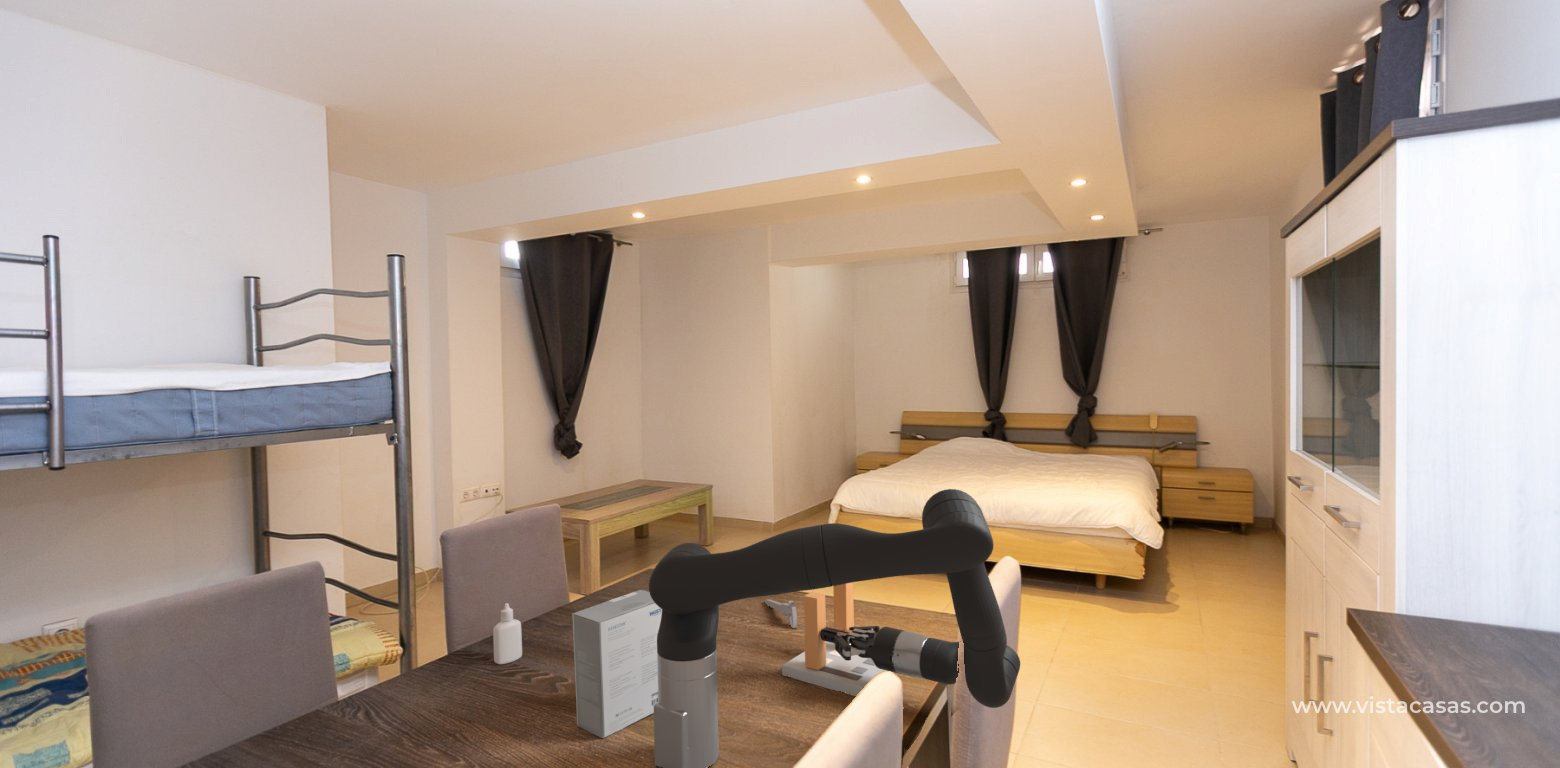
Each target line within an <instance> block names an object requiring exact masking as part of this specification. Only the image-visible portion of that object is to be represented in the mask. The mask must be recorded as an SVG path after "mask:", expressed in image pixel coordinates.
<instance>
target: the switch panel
mask: <svg viewBox="0 0 1560 768" xmlns="http://www.w3.org/2000/svg"><path fill="white" fill-rule="evenodd" d="M781 670H782V676H785V677H787V676H788V678H790V677H791V679H795V680H798V681H802V682H805V683H808V684H812V685H815V686H818V687H821V688H825V689H829V690H832V691H836V692H839V691H841V692H840V693H842V692H846V693H849V694H852V695H851V696H854V697H856V695H857V694H858V693H859V692H860V691H861V690H862V689H863V688H864V686H865V685H866V684H867V683H868V682H869V681H870V680H871V679H872V678H873V677H874V676H875V675H877V674H878V673H880V672H882V671H885V670H882V669H879V668H877V667H876V666H875V664H874V662H873V660H872V659H871V658H861V657H859V656H858V655H853V656H851V660H849V661H847V660H845V659H844V658H843V657H842V656H841V655H840V654H839V653H838V652H837V651H836V650H835V648H834V643H831V642H827V641H826V665H825V666H824V667H822V668H821V669H819V670H815V669H812V668H808V667H805V651H803V652H801V653H800V654H798V655H796V656H795V657H793V658H791V659H790V660H788V661H787V662H785V663H784V664H782V668H781ZM846 693H845V694H846ZM849 694H848V695H849Z"/></svg>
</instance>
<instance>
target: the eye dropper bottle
mask: <svg viewBox="0 0 1560 768" xmlns="http://www.w3.org/2000/svg"><path fill="white" fill-rule="evenodd" d="M492 631H493V661H494V663H495V664H497V665H505V664H509V663H512V662H514V661H517V660H518V659H520V658H522V656H523V640H522V639H523V638H522V622H521V621H520V620H518V619H515V618H514V609H513V608H511V607H510V604H509V602H506V603H504V606H503V609H501V610H500V621H499V622H498V623H497V624H496V625H494V627H493V630H492Z"/></svg>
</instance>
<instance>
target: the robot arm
mask: <svg viewBox="0 0 1560 768" xmlns="http://www.w3.org/2000/svg"><path fill="white" fill-rule="evenodd" d="M987 522H988V521H986V518H985V515H984V513H983V510H982V508H981V507H980V505H979V504H978V502H977V500H975V499H974V498H973V497H972V495H970V494H968V493H967V492H966V491H965V492H964V491H962V490H961V489H960V490H959V489H956V488H955V489H954V488H948V489H943V490H940V491H938V492H936V493H934V494H933V495H932V496H930V497H929V498H928V500H926V502H925V504H924V507H923V510H922V514H921V525H922V529H916V530H912V531H906V532H896V533H894V532H893V533H887V532H878V531H874V530H869V529H866V528H863V527H860V526H854V525H851V524H844V523H839V522H838V523H834V522H832V523H824V524H817V525H813V526H812V525H811V526H806V527H800V528H796V529H792V530H788V531H785V532H782V533H779V534H776V535H774V536H771V537H768V538H765V539H763V540H761V541H758V542H756V543H754V544H750V545H748V546H746V547H743V548H740V549H736V550H732V551H731V550H729V551H726V552H715V553H712V552H710V550H709V549H707V548H706V547H705V546H703V545H701V544H699V543H695V542H686V543H685V542H684V543H681V544H678V545H676V546H674V547H673V548H672V549H670V550H669V551H668V552H667V553H666V554H665V555H664V556H663V557H662V558H661V559H660V560H659V561H658V563H657V564H656V565H655V567H654V568H653V570H652V573H651V575H650V578H649V581H648V592H650V596H651V598H652V600H653V601H654V602H655V604H656V605H657V606H658V607H660V608H661V609H662V615H661V622H660V627H659V630H658V634H657V665H658V703H656V704H655V705H654V713H653V728H654V729H653V730H654V731H653V732H654V733H653V734H654V735H653V736H654V739H653V740H654V766H657V767H659V768H661V767H663V768H706V767H709V766H711V765H712V764H713V765H715V764H716V763H717V761H718V760H719V755H720V752H719V749H720V747H719V745H720V744H719V722H718V721H719V714H718V713H719V709H718V673H717V672H718V670H717V669H718V665H717V664H718V663H717V662H718V661H717V658H718V657H717V635H718V628H719V618H720V617H719V614H720V613H719V611H720V609H719V607H720V605H724V604H727V603H731V602H734V601H735V602H736V601H738V600H739V601H740V600H743V599H750V598H751V599H752V598H758V597H766V596H776V595H782V594H789V593H796V592H804V591H805V592H806V591H812V590H813V591H814V590H819V589H825V588H831V587H832V588H833V586H837V585H842V584H846V583H851V582H853V583H856V582H865V581H871V580H872V581H873V580H877V579H878V580H879V579H885V578H886V579H887V578H894V577H904V576H920V575H935V574H936V575H937V574H946V578H947V582H948V586H949V590H950V595H951V600H952V605H953V610H954V614H955V617H956V621H957V625H958V628H959V633H960V636H961V640H962V641H963V643H964V664H965V674H964V675H965V682H966V683H965V684H966V686H967V689H968V691H969V692H970V695H972V697H973V698H974V699H975V701H976V702H978V703H979V704H980V705H982V706H984V707H987V708H992V709H996V708H1000V707H1002V706H1005V705H1006V704H1007V703H1008V701H1009V700H1010V698H1011V696H1012V693H1013V689H1014V687H1015V683H1016V680H1017V678H1018V675H1019V672H1020V669H1021V659H1020V656H1019V655H1018V653H1017V651H1015V650H1014V648H1012V647H1010V646H1009V645H1008V638H1007V637H1008V636H1007V633H1006V629H1005V624H1004V621H1003V616H1002V613H1001V610H1000V606H999V603H998V600H997V597H996V594H995V591H994V589H993V586H992V583H991V580H990V578H989V574H988V572H987V568H986V565H985V562H986V561H987V560H989V558H990V557H991V555H992V553H993V551H994V546H995V545H994V538H993V536H992V532H991V530H990V527H989V525H988V523H987ZM821 639H822V640H823V641H827V642H831V643H835V650H836V651H837V652H838V653H839V654H840V655H841V656H842V657H843V658H844V659H845V660H847V661H849V660H851V656H853V655H858V656H859V657H861V658H871V659H872V660H873V662H874V664H875V666H876V667H877V668H879V669H882V670H886V671H891V672H894V674H897V675H902V676H907V677H910V678H917V679H924V680H928V681H930V682H931V681H932V682H935V683H936V682H937V683H940V684H944V685H950V686H951V685H954V684H957V682H956V678H957V677H958V673H959V668H958V671H957V661H958V648H959V642H960V641H952V642H951V641H947V640H943V639H939V638H935V637H930V636H927V635H925V634H924V635H923V634H920V633H918V632H914V631H909V630H904V629H900V628H895V627H890V626H883V627H880V626H877V625H870V626H869V625H867V626H865V625H864V626H854V627H849V630H847V629H842V630H838V629H834V627H827V626H826V627H825V628H823V629H822V630H821ZM958 666H959V664H958ZM713 765H712V766H713ZM712 766H711V767H712ZM709 768H710V767H709Z"/></svg>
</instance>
